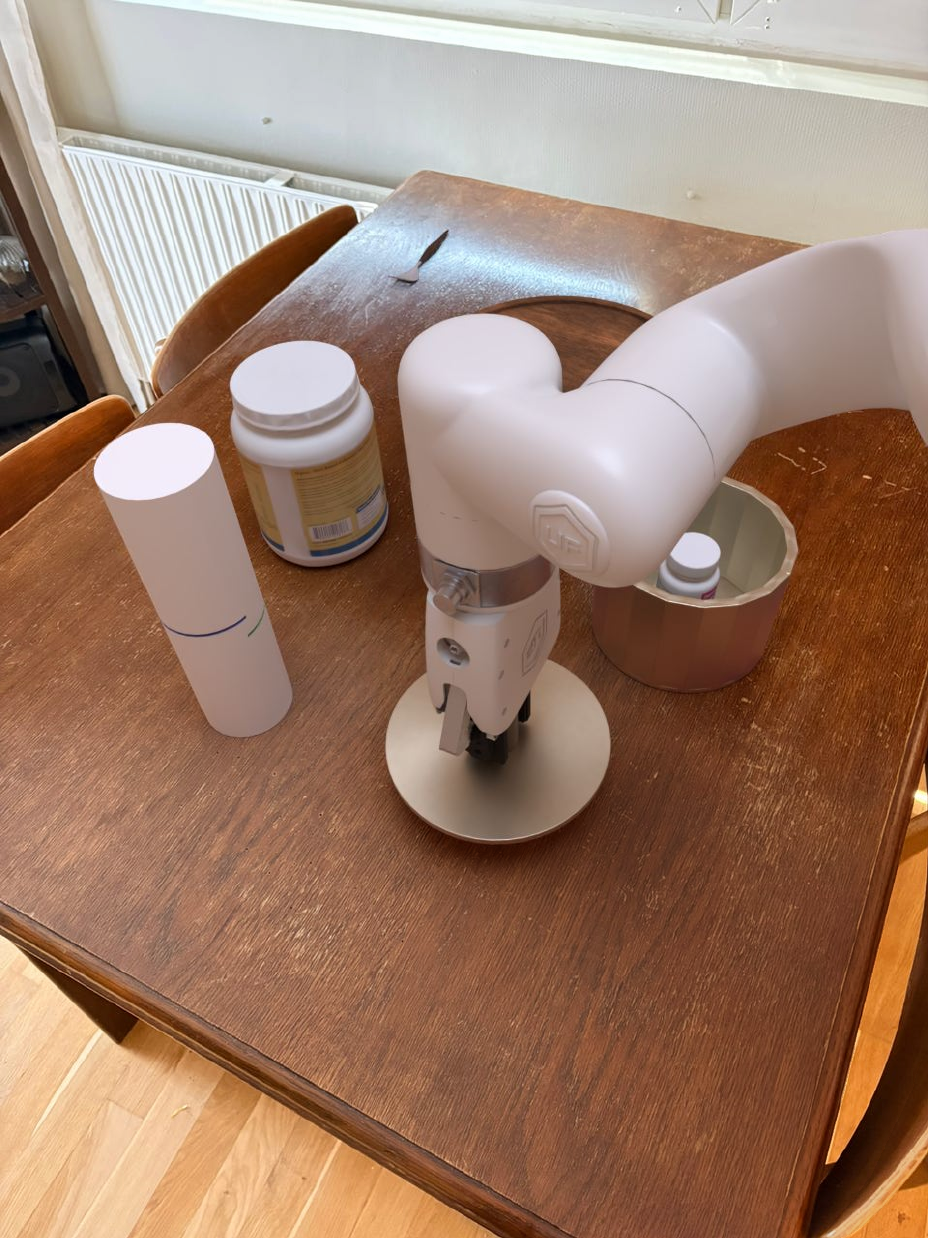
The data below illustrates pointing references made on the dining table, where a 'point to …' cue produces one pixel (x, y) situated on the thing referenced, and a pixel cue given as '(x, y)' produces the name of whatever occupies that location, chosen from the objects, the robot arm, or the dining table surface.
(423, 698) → the lid
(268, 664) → the cylindrical container
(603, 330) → the cutting board
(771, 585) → the pot
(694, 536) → the pill bottle
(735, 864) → the dining table surface
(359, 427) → the supplement tub
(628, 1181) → the dining table surface
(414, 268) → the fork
